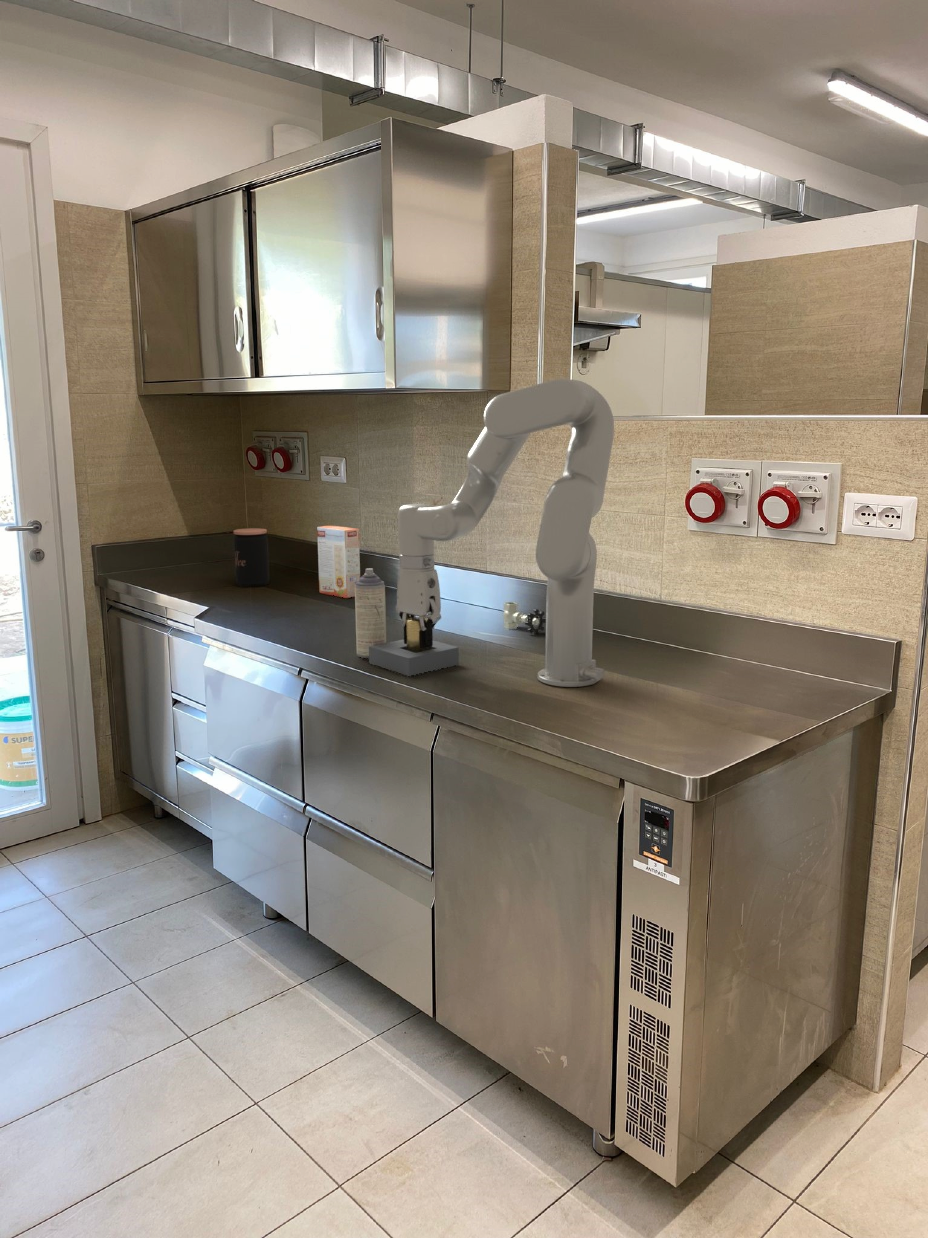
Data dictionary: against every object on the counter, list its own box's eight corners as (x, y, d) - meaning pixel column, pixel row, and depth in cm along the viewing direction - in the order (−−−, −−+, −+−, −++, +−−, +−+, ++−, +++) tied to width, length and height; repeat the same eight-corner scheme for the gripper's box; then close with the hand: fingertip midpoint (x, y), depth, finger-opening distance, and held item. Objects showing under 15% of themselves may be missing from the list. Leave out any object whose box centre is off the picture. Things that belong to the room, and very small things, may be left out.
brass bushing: (433, 655, 201) (433, 619, 200) (416, 659, 198) (415, 622, 197) (419, 651, 205) (419, 616, 203) (402, 655, 202) (401, 619, 200)
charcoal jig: (458, 664, 203) (458, 647, 202) (408, 676, 194) (408, 658, 193) (418, 653, 213) (418, 636, 212) (369, 664, 204) (368, 646, 203)
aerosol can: (391, 653, 213) (389, 567, 209) (378, 660, 207) (376, 572, 203) (365, 650, 216) (362, 565, 212) (351, 657, 210) (348, 570, 205)
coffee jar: (235, 583, 306) (232, 528, 302) (268, 581, 309) (265, 527, 305) (237, 588, 296) (234, 532, 292) (271, 586, 299) (268, 531, 295)
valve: (495, 628, 238) (527, 637, 229) (495, 603, 237) (527, 611, 228) (514, 625, 242) (546, 633, 233) (515, 600, 241) (547, 607, 232)
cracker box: (362, 596, 282) (360, 528, 277) (346, 599, 278) (343, 529, 273) (334, 590, 291) (332, 524, 287) (318, 593, 287) (316, 526, 283)
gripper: (456, 564, 194) (456, 649, 197) (406, 556, 206) (407, 636, 210) (428, 568, 189) (429, 655, 193) (378, 559, 201) (381, 641, 205)
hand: (418, 644), depth 201 cm, fingers closed on brass bushing, 4 cm apart
